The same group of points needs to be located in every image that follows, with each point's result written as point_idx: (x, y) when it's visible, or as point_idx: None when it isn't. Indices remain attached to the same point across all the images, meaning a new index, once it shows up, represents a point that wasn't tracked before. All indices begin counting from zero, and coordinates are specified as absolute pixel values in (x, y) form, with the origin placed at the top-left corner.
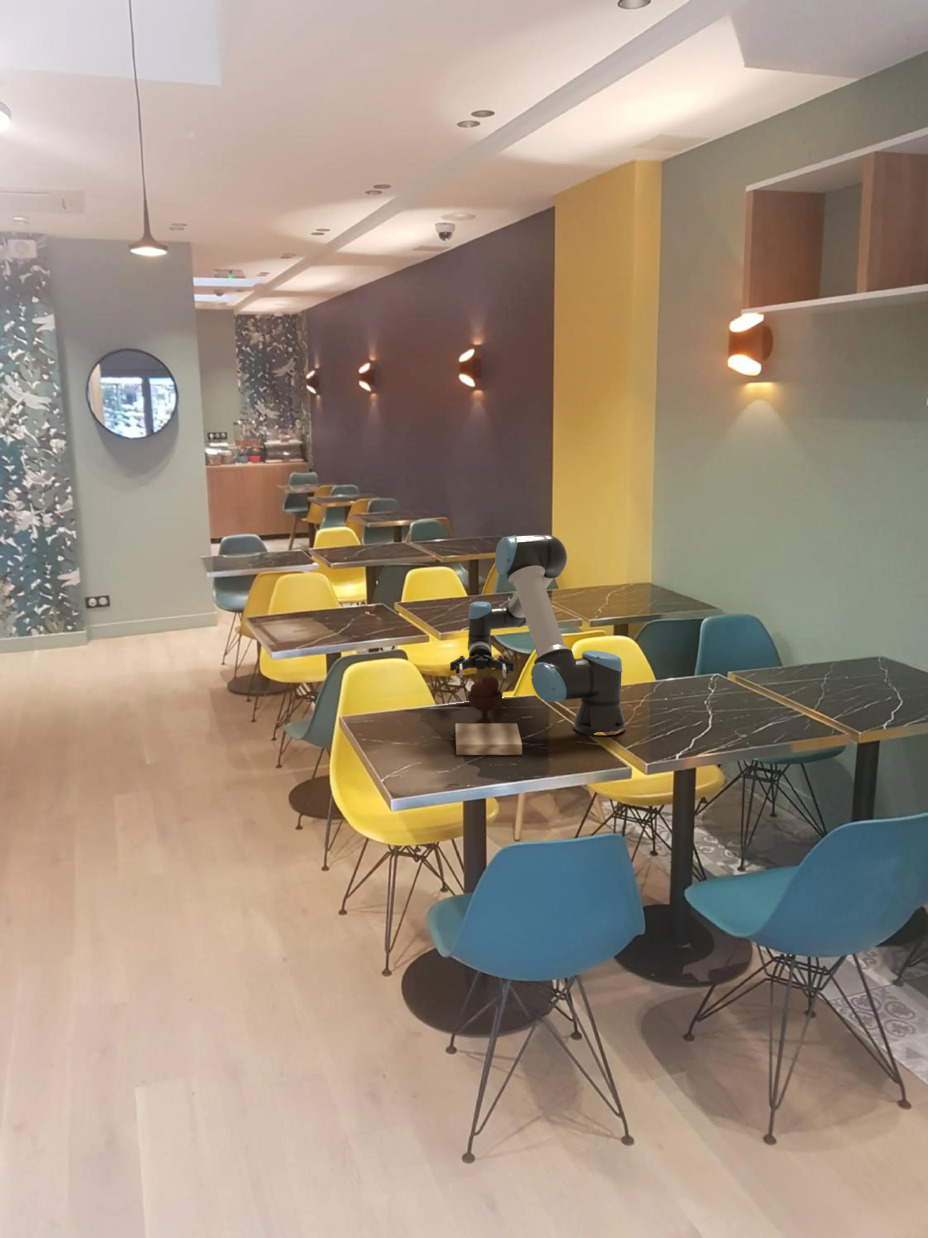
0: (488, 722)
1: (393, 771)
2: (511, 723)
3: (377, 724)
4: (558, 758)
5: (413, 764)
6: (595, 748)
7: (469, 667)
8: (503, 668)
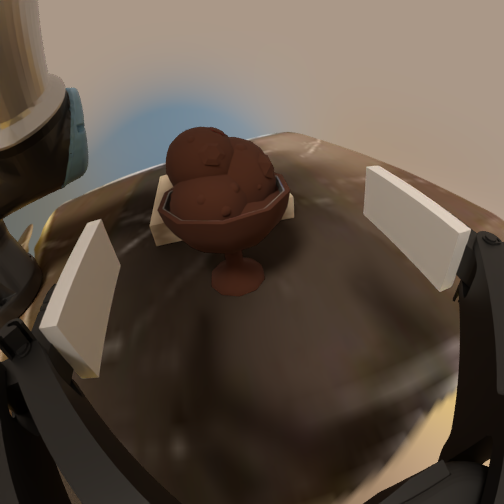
0: (223, 261)
1: (318, 145)
2: (162, 222)
3: (461, 220)
4: (117, 198)
5: (306, 153)
6: (56, 232)
7: (456, 405)
8: (92, 241)
